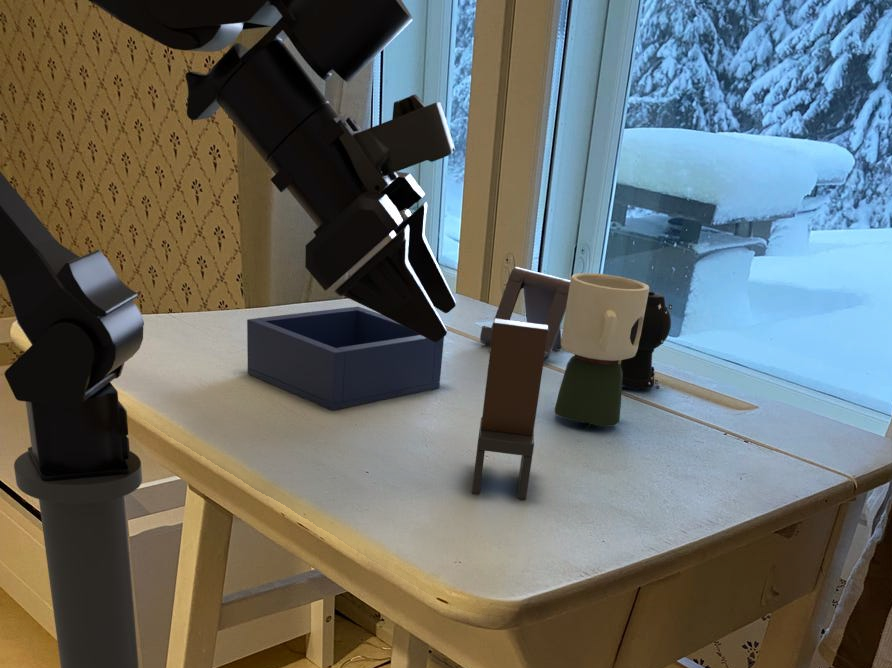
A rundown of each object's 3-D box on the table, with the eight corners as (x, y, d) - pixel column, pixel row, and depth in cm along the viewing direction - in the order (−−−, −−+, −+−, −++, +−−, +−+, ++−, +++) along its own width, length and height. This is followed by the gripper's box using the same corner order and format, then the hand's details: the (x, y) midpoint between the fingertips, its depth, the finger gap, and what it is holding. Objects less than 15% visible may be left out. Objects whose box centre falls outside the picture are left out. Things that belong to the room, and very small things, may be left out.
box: (332, 410, 87) (334, 352, 84) (247, 373, 93) (246, 319, 91) (439, 387, 97) (444, 335, 94) (355, 356, 103) (357, 306, 101)
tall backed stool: (471, 493, 74) (491, 328, 68) (474, 470, 78) (493, 312, 72) (525, 500, 74) (550, 335, 68) (526, 476, 78) (549, 319, 72)
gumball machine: (672, 393, 105) (693, 298, 100) (632, 398, 102) (652, 300, 96) (631, 375, 109) (649, 283, 104) (591, 379, 106) (608, 284, 101)
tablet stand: (477, 344, 113) (486, 270, 109) (515, 336, 119) (524, 265, 115) (539, 363, 109) (551, 287, 105) (575, 354, 115) (587, 281, 111)
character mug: (628, 445, 88) (658, 298, 81) (551, 436, 88) (575, 288, 81) (616, 408, 97) (641, 274, 91) (546, 400, 97) (567, 265, 91)
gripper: (366, 40, 53) (536, 274, 59) (404, 47, 69) (535, 230, 75) (228, 178, 57) (400, 384, 63) (294, 155, 73) (426, 321, 79)
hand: (447, 322), depth 70 cm, fingers open, 9 cm apart
